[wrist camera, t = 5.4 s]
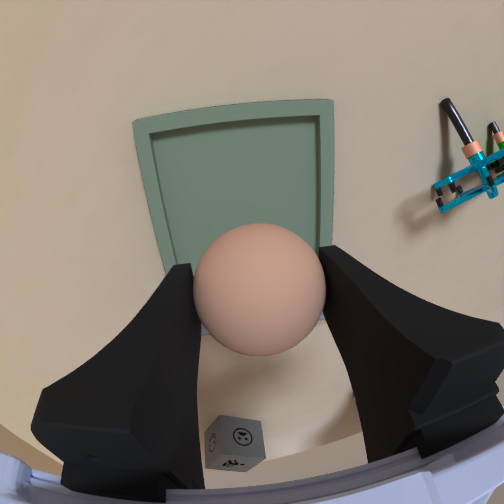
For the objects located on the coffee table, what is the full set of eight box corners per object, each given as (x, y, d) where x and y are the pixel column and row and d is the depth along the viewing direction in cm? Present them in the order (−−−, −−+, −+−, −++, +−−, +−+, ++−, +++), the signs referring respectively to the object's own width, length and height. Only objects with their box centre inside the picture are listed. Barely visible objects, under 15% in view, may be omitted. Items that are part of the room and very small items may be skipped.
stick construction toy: (423, 231, 18) (513, 201, 11) (376, 136, 19) (445, 72, 11) (500, 182, 21) (564, 154, 13) (465, 111, 21) (521, 71, 14)
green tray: (326, 258, 21) (330, 266, 21) (171, 277, 21) (169, 286, 20) (327, 99, 16) (333, 100, 15) (136, 119, 15) (131, 122, 15)
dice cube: (219, 414, 31) (221, 454, 27) (260, 420, 32) (266, 458, 28) (204, 432, 33) (205, 468, 29) (242, 437, 35) (245, 472, 30)
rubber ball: (306, 291, 14) (335, 370, 10) (205, 304, 14) (205, 388, 10) (308, 196, 12) (352, 262, 8) (186, 210, 11) (172, 285, 8)
